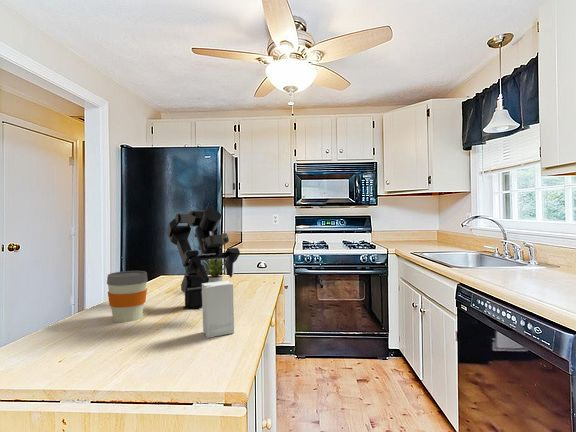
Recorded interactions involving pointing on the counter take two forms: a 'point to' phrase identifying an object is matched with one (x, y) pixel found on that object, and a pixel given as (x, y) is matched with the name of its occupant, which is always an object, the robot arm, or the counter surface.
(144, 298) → the reusable coffee cup
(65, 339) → the counter surface
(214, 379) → the counter surface
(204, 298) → the skincare box
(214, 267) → the house plant
